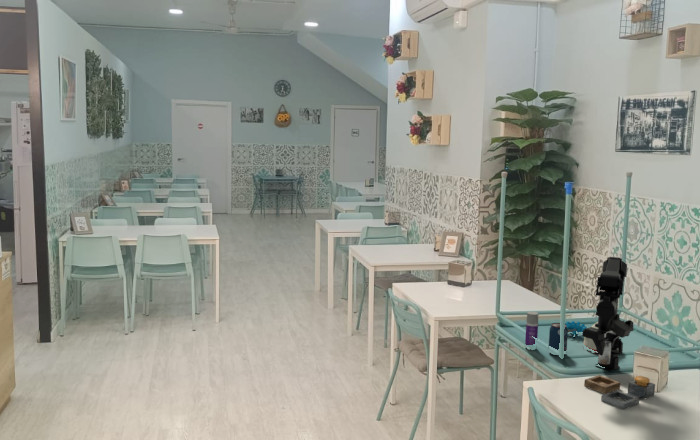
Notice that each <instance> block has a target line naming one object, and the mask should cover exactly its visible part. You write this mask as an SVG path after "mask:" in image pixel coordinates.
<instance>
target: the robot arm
mask: <svg viewBox="0 0 700 440" xmlns="http://www.w3.org/2000/svg"><path fill="white" fill-rule="evenodd" d="M601 270H602V271H601V272H600V275H599V276H598V277H597V282H596V290H595V296H598V297H599V301H598V302H597V304H596V312H595V316H598V317H597V322H598V323H597V322H595V323H596V324H595V323H594V324H595V327H598V329H596V328H593V327H587V328H585V329H584V330H583V333H582V337H583V338H584V337H586V338H590V339H592V340H593V342H594V344H595V346H596V351H597V352H598V353H599V354H598V357H599V355H601V356H602V355H603V351H604V345H605V341H607V340H608V341H611V354H610V364H601V363H599V362H598V361H597V363H596V364H595V365H598V364H599V365H600V366H602V367H605V369H604V370H605V371H608V372H610V371H615V370H618V369H620V367H621V366H619V364H620V363H619V360H620V358H619V357H620V355H623V351H624V350H623V348H624V343H623V341H622V339H624V338H625V337H629V336H630V334H631V332H633V331H634V322H633V321H632V320H631V319H628V320H626V321H625V320H621V319H620V317H621V316H620V314H619V313H618V307H619V306H618V305H619V299H621V296H622V295H623V291H624V282H625V280H626V279H625V278H627V275H628V264H627V263H626V262H624V261H623V258H621V257H616V256H609V257H606V260H604V261H602V269H601ZM598 357H597V358H598Z"/></svg>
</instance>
